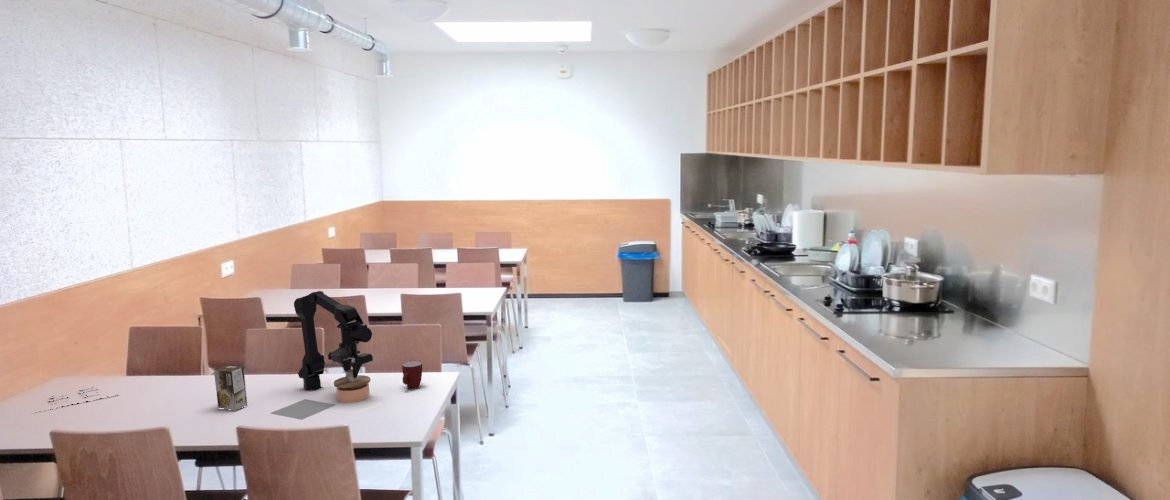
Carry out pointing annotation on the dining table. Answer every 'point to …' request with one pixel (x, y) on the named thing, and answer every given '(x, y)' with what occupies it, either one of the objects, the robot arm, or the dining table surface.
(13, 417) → the dining table surface
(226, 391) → the coffee box
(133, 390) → the dining table surface
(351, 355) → the robot arm
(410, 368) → the mug
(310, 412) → the mat
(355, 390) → the bowl
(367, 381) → the lid
